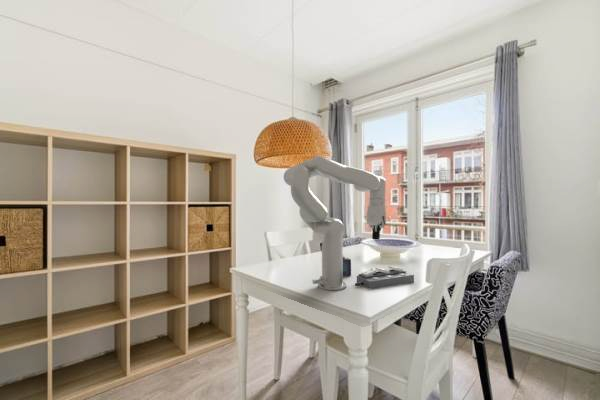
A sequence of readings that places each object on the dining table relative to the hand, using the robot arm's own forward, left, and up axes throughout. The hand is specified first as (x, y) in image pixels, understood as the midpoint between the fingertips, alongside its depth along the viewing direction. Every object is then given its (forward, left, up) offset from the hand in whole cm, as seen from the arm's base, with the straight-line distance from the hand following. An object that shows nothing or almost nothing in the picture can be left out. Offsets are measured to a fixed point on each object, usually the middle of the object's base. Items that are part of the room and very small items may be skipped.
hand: (375, 239), depth 137 cm
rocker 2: (+1, -4, -15) cm, 16 cm away
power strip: (-1, -6, -20) cm, 21 cm away
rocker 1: (-7, -4, -15) cm, 17 cm away
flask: (-11, +14, -21) cm, 27 cm away
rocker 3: (+9, -4, -15) cm, 18 cm away
